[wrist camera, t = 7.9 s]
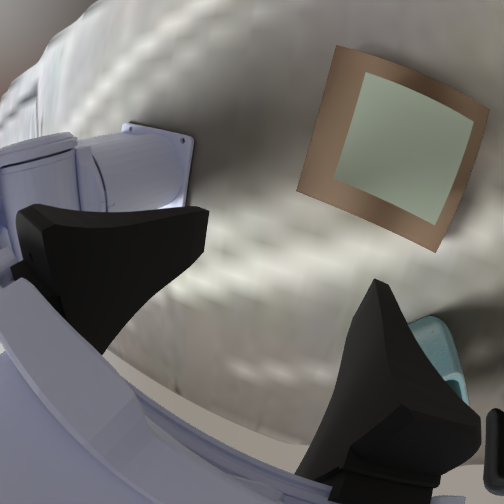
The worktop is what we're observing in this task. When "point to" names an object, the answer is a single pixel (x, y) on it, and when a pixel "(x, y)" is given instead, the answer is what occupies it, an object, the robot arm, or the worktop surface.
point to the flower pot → (441, 352)
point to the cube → (403, 147)
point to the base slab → (336, 129)
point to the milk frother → (494, 453)
